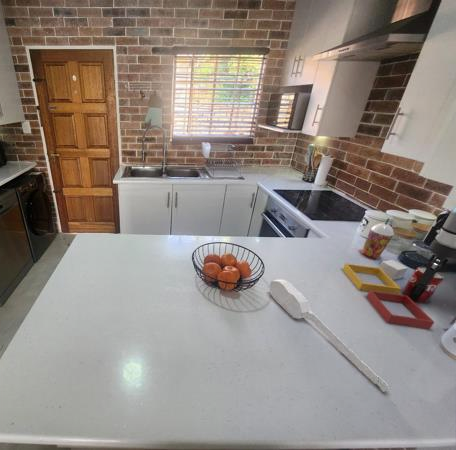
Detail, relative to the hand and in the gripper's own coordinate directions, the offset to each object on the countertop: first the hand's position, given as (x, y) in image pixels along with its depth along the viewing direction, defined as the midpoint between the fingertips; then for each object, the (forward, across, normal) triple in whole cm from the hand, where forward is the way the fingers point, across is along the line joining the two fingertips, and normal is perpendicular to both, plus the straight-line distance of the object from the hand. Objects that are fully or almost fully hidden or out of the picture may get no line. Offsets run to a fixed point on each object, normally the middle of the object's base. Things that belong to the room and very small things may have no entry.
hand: (414, 295), depth 93 cm
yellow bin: (+1, +5, -13) cm, 14 cm away
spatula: (+1, +51, -13) cm, 52 cm away
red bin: (+1, +17, -1) cm, 17 cm away
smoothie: (+1, -20, -20) cm, 29 cm away
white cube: (+1, -8, -10) cm, 13 cm away
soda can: (+1, 0, 0) cm, 1 cm away
